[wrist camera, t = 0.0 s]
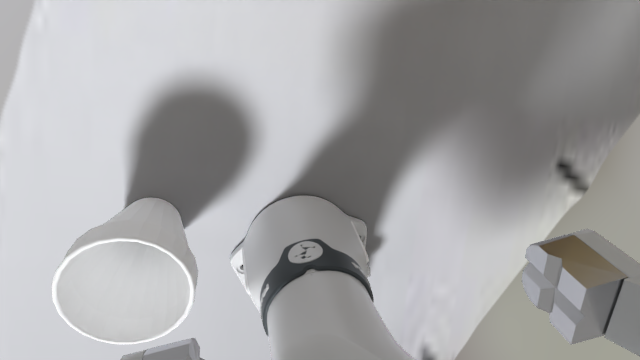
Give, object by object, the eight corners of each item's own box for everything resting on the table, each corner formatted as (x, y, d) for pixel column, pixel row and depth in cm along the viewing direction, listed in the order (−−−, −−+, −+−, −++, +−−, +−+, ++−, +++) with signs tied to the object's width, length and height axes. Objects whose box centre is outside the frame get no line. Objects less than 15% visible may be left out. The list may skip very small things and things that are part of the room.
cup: (90, 255, 49) (43, 339, 37) (105, 165, 45) (57, 224, 33) (192, 271, 53) (181, 351, 40) (214, 188, 49) (208, 250, 36)
